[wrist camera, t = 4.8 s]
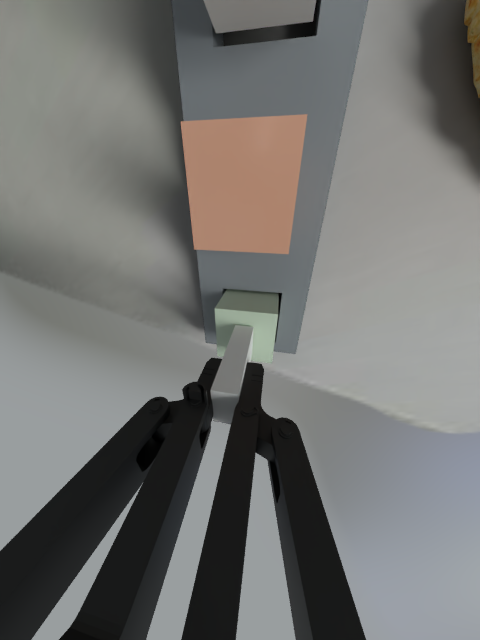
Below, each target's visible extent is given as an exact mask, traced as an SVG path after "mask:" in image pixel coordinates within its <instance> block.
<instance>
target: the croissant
mask: <svg viewBox="0 0 480 640" xmlns="http://www.w3.org/2000/svg"><path fill="white" fill-rule="evenodd" d="M464 24H465V25H466V26H468V43H471V49H472V61H473V82H474V85H475V87H476V89H477V93H478V97H479V98H480V0H466V7H465V18H464Z"/></svg>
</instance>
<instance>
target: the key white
mask: <svg viewBox="0 0 480 640" xmlns="http://www.w3.org/2000/svg"><path fill="white" fill-rule="evenodd" d="M204 3H205V6H206V8H207V11H208V14H209V16H210V19H211V22H212V24H213V27H214V29H215V32H216V34H217V33H225V32H233V31H241V30H249V29H257V28H265V27H273V26H281V25H289V24H297V23H305V22H313V17H314V11H315V5H316V0H204Z"/></svg>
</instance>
